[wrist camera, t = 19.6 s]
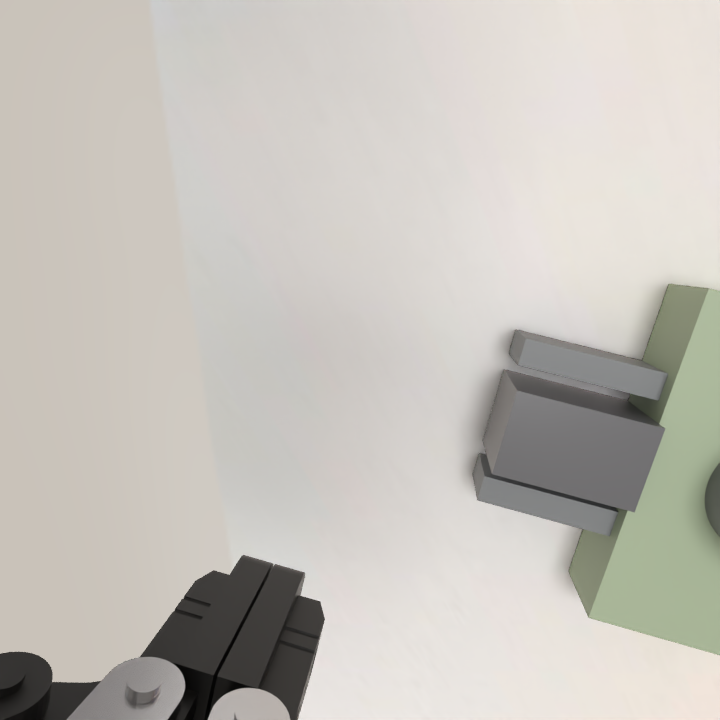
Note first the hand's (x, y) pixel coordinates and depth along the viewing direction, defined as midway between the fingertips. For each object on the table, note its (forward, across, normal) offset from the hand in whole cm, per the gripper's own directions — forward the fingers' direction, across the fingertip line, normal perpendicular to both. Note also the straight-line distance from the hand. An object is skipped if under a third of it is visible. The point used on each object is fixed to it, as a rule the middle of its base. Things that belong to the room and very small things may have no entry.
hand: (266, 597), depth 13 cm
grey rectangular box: (+25, -12, 0) cm, 28 cm away
